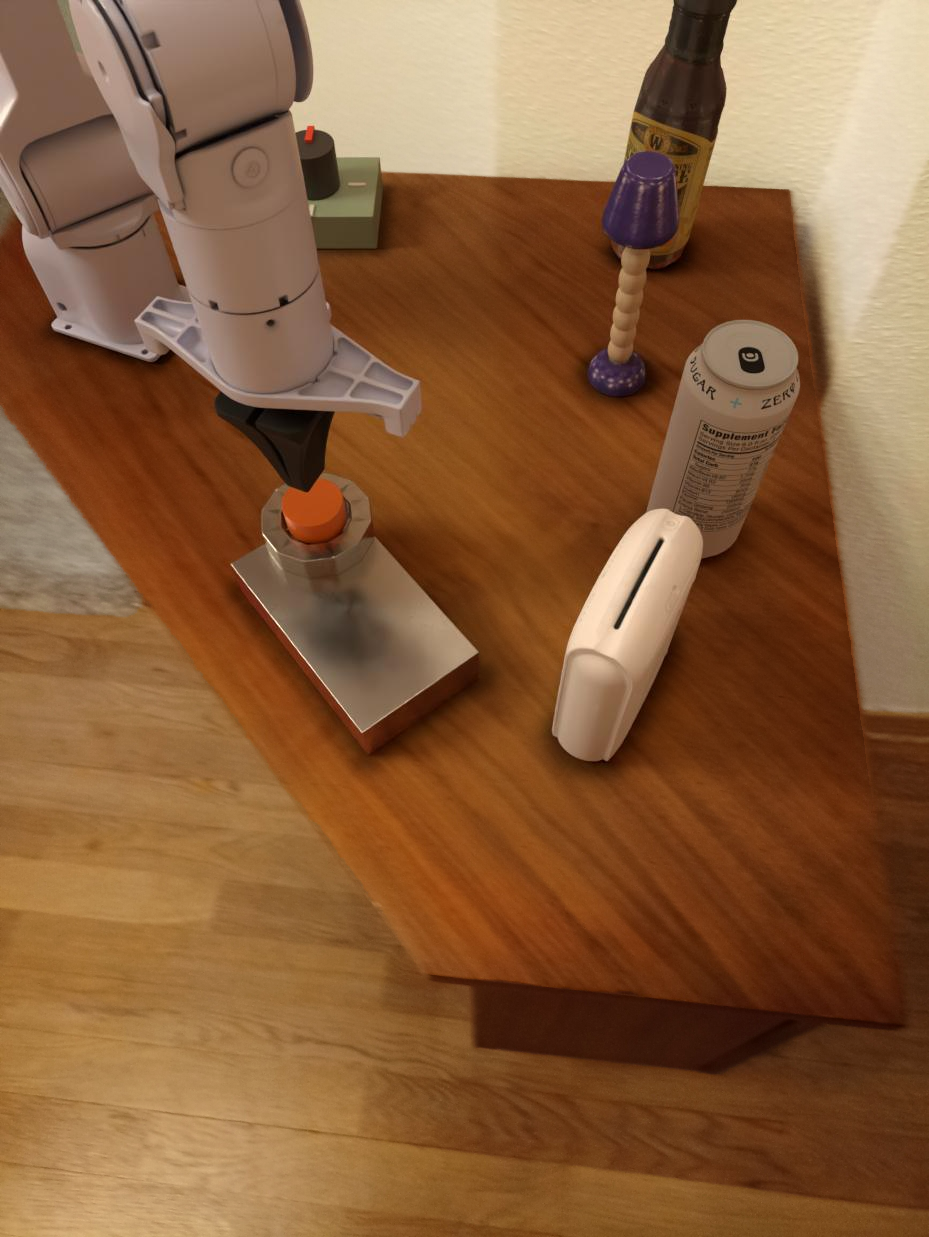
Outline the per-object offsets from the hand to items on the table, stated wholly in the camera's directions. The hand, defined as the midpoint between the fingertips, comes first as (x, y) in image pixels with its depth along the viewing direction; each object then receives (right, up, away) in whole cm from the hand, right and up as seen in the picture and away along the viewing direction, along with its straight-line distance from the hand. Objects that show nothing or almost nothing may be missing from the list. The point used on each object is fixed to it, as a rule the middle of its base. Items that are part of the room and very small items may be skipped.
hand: (305, 476), depth 49 cm
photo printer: (+18, -12, +3) cm, 22 cm away
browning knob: (-3, +28, +23) cm, 36 cm away
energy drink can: (+24, -2, +9) cm, 25 cm away
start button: (0, -2, +3) cm, 4 cm away
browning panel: (-3, +26, +26) cm, 37 cm away
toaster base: (+2, -9, +5) cm, 10 cm away
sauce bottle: (+24, +22, +23) cm, 40 cm away
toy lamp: (+20, +10, +16) cm, 27 cm away
